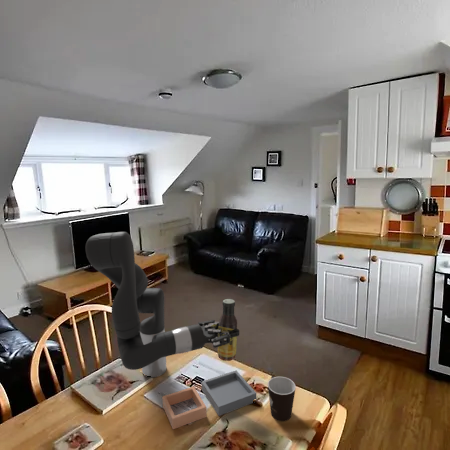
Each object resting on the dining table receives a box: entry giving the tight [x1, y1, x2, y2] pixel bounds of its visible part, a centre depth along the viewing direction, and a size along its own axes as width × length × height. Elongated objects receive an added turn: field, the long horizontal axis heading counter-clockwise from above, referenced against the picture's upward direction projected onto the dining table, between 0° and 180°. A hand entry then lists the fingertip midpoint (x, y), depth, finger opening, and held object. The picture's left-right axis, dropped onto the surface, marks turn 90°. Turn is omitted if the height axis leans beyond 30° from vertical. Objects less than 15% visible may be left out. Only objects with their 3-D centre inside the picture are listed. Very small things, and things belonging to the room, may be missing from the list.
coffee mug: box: [267, 375, 297, 422], centre depth 103 cm, size 12×9×10 cm
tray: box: [201, 370, 257, 417], centre depth 111 cm, size 14×14×3 cm
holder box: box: [161, 385, 208, 430], centre depth 104 cm, size 11×11×4 cm
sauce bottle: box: [217, 298, 238, 362], centre depth 107 cm, size 7×6×20 cm
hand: (233, 327), depth 108 cm, fingers closed on sauce bottle, 6 cm apart
